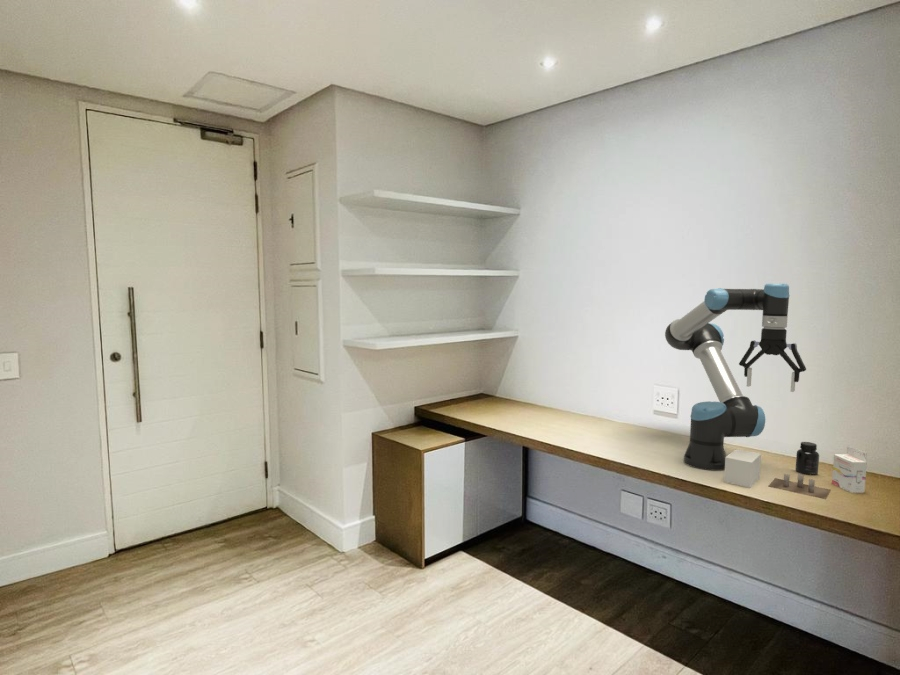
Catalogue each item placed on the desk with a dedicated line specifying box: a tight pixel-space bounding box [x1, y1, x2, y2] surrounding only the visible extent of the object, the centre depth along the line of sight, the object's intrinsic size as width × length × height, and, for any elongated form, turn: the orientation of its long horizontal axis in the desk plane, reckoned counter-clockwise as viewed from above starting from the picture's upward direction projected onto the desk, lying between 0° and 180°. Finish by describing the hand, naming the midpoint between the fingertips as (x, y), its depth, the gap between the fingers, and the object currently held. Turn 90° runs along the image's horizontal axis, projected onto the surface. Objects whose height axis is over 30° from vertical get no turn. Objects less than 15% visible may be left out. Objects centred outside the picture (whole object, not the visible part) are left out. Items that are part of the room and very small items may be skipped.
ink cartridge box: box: [831, 445, 868, 494], centre depth 181 cm, size 9×5×15 cm, turn 5°
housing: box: [723, 448, 762, 488], centre depth 188 cm, size 13×8×10 cm, turn 139°
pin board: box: [767, 473, 831, 500], centre depth 181 cm, size 16×11×6 cm
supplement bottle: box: [795, 441, 820, 476], centre depth 196 cm, size 7×7×12 cm
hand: (770, 388), depth 193 cm, fingers open, 13 cm apart
